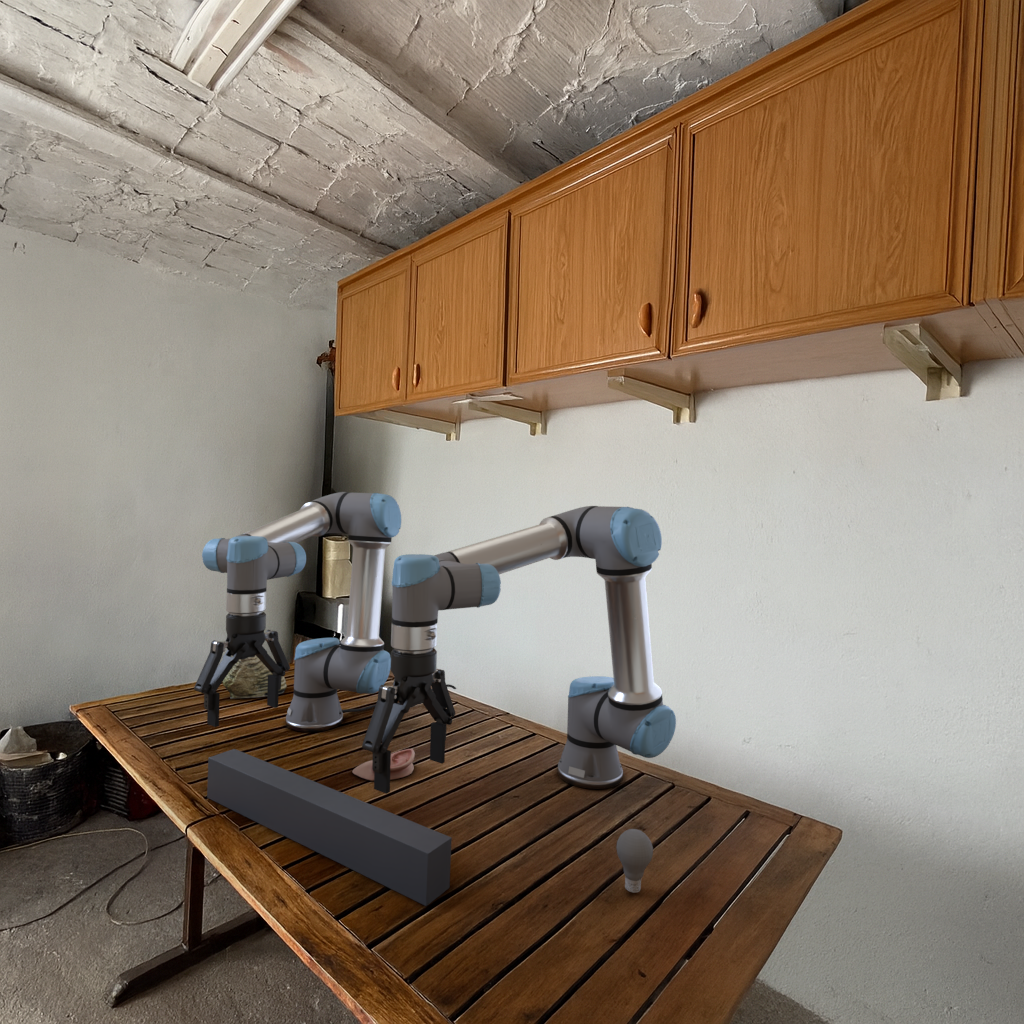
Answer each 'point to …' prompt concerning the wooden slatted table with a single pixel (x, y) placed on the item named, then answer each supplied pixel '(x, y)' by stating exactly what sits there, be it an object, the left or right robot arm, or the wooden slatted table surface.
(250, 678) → the fossil
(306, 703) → the left robot arm
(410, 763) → the anatomical model
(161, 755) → the wooden slatted table surface
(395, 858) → the bar
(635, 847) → the light bulb
